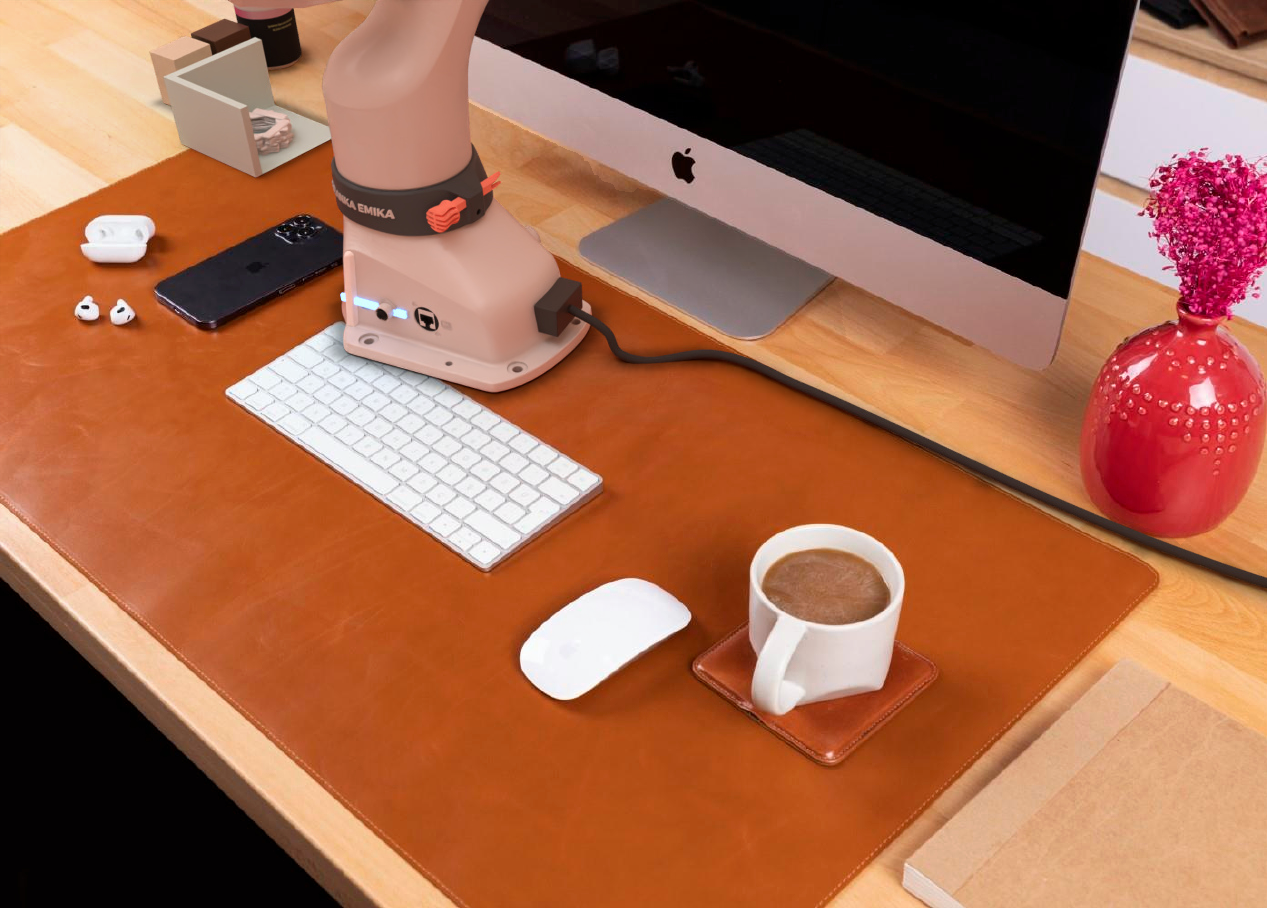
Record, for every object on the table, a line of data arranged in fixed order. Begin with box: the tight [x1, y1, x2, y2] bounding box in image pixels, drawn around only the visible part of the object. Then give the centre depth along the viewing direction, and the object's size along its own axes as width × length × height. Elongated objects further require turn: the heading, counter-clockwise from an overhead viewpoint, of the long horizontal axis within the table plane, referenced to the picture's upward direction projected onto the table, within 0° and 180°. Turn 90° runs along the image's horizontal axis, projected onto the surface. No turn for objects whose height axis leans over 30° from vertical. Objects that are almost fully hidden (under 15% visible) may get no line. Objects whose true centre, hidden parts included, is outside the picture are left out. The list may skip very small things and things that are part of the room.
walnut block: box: [190, 18, 251, 56], centre depth 144 cm, size 4×5×6 cm
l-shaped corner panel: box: [163, 38, 331, 178], centre depth 133 cm, size 12×12×8 cm
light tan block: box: [149, 35, 212, 107], centre depth 140 cm, size 4×5×6 cm
